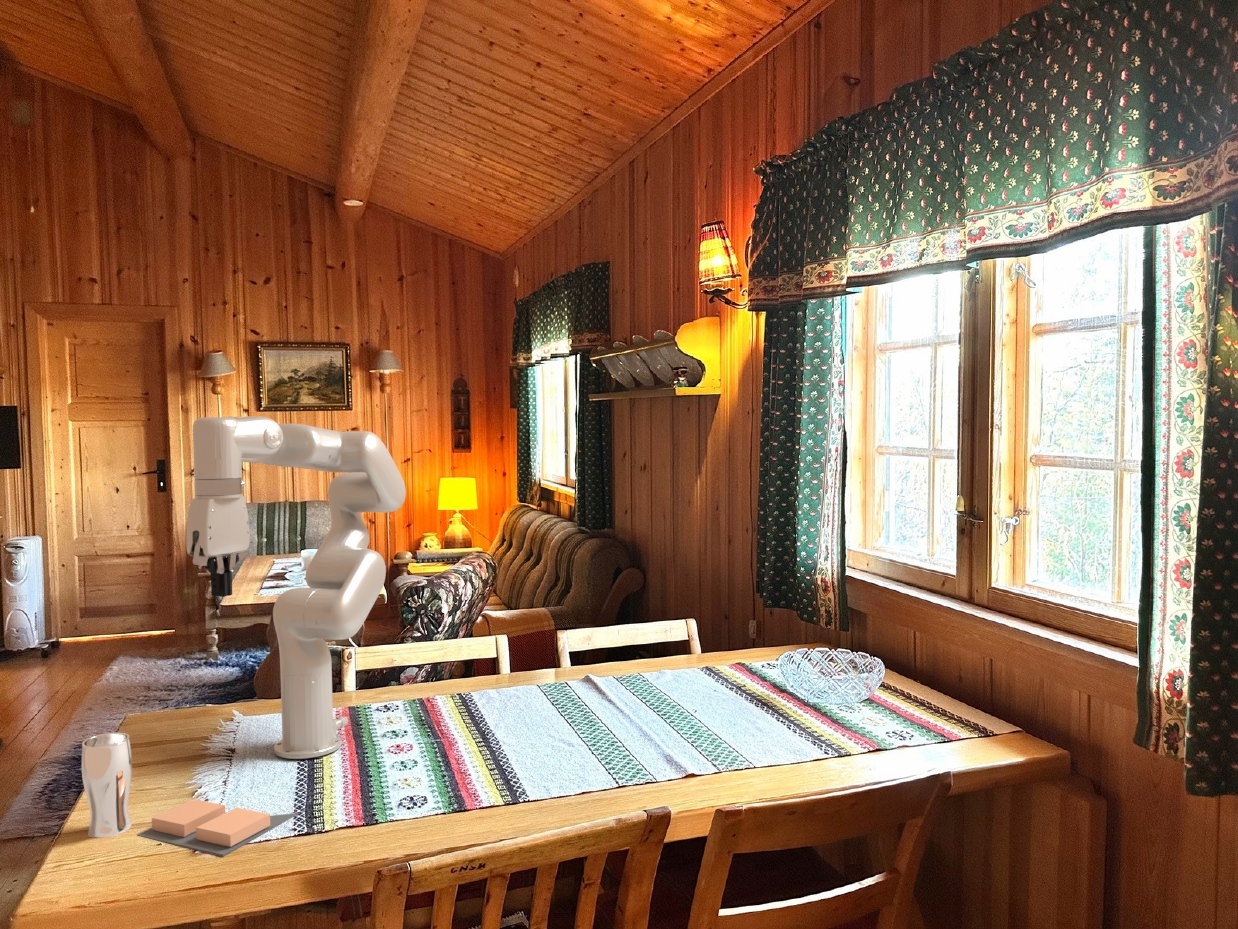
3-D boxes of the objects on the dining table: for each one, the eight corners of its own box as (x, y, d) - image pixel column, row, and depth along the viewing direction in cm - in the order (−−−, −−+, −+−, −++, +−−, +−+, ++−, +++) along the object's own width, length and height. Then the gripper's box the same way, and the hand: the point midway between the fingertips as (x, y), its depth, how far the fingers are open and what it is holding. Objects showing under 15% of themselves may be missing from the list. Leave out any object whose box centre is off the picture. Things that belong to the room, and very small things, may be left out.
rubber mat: (228, 796, 160) (227, 792, 160) (309, 812, 153) (309, 808, 153) (137, 838, 144) (137, 835, 144) (223, 858, 137) (223, 854, 137)
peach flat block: (236, 807, 149) (196, 827, 141) (270, 814, 146) (230, 835, 139) (237, 820, 149) (196, 841, 142) (270, 827, 146) (230, 848, 139)
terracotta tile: (193, 799, 153) (151, 818, 145) (225, 805, 150) (184, 825, 142) (193, 811, 153) (152, 831, 145) (225, 818, 150) (184, 838, 143)
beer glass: (79, 845, 142) (74, 750, 141) (92, 825, 149) (87, 734, 148) (129, 839, 144) (124, 745, 143) (139, 820, 151) (135, 729, 150)
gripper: (236, 486, 167) (239, 587, 168) (165, 491, 153) (169, 601, 154) (267, 486, 164) (270, 589, 165) (199, 492, 150) (202, 604, 151)
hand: (221, 595), depth 159 cm, fingers closed
